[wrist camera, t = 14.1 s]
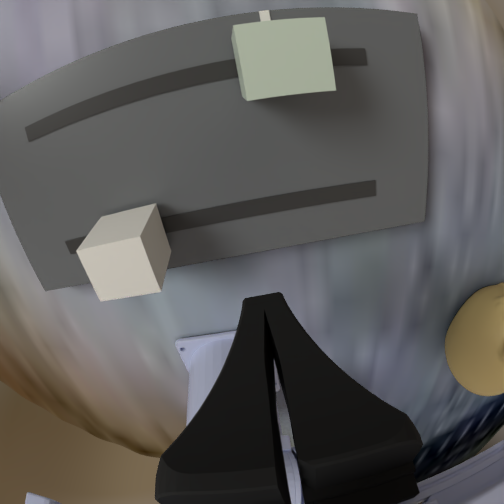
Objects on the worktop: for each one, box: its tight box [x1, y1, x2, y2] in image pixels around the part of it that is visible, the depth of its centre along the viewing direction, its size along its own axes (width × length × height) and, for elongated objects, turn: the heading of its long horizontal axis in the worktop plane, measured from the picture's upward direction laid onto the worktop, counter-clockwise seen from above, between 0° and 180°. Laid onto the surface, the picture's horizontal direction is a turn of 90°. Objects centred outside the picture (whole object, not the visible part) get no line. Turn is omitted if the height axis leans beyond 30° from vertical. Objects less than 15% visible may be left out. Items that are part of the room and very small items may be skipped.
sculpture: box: [445, 282, 504, 396], centre depth 24 cm, size 11×12×11 cm
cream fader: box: [76, 203, 171, 301], centre depth 17 cm, size 3×4×4 cm
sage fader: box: [231, 17, 336, 101], centre depth 12 cm, size 3×4×4 cm
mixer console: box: [0, 8, 428, 291], centre depth 17 cm, size 14×28×2 cm, turn 99°
